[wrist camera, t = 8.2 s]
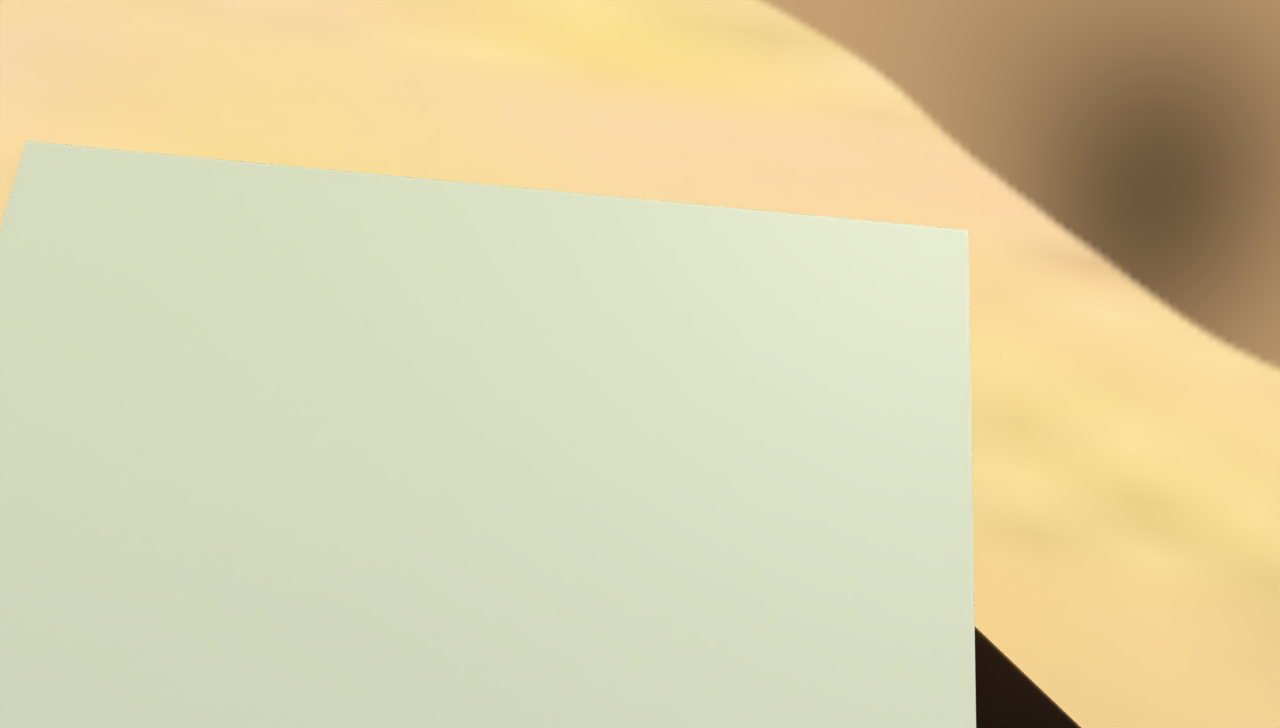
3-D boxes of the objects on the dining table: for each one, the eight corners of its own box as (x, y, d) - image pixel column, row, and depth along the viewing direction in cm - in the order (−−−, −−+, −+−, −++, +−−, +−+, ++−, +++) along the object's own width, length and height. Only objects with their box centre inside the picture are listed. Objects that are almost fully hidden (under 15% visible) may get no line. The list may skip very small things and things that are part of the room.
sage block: (723, 528, 16) (967, 230, 5) (702, 881, 14) (986, 1412, 4) (403, 500, 16) (26, 141, 5) (348, 851, 14) (-325, 1309, 4)
